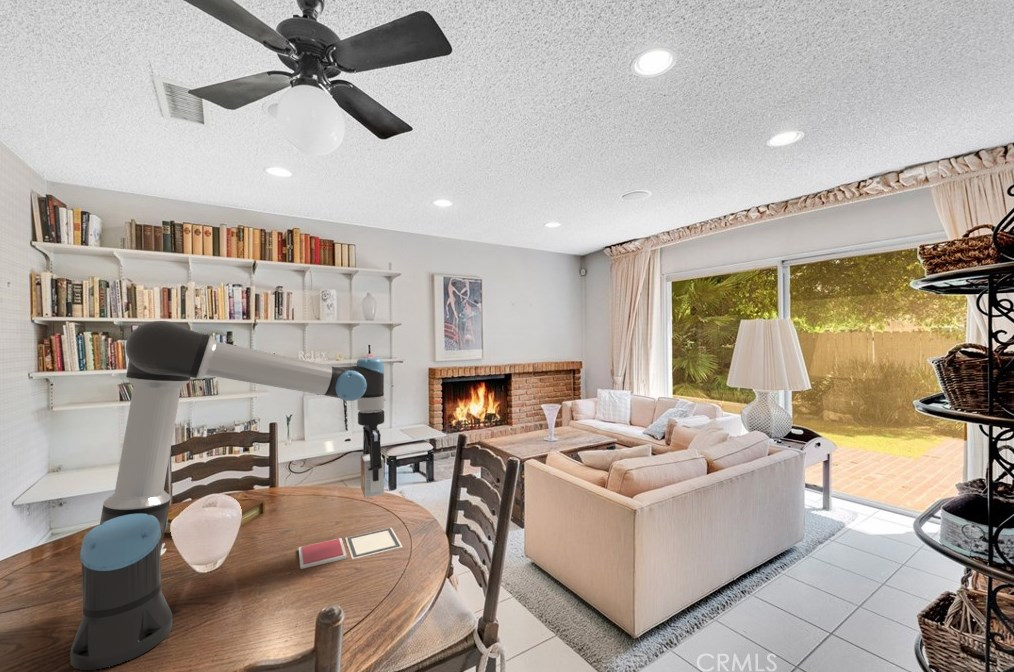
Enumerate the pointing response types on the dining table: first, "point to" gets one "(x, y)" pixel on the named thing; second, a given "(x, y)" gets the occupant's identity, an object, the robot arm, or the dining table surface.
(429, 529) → the dining table surface
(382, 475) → the small box
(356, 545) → the card
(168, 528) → the diary
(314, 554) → the ink pad
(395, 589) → the dining table surface
